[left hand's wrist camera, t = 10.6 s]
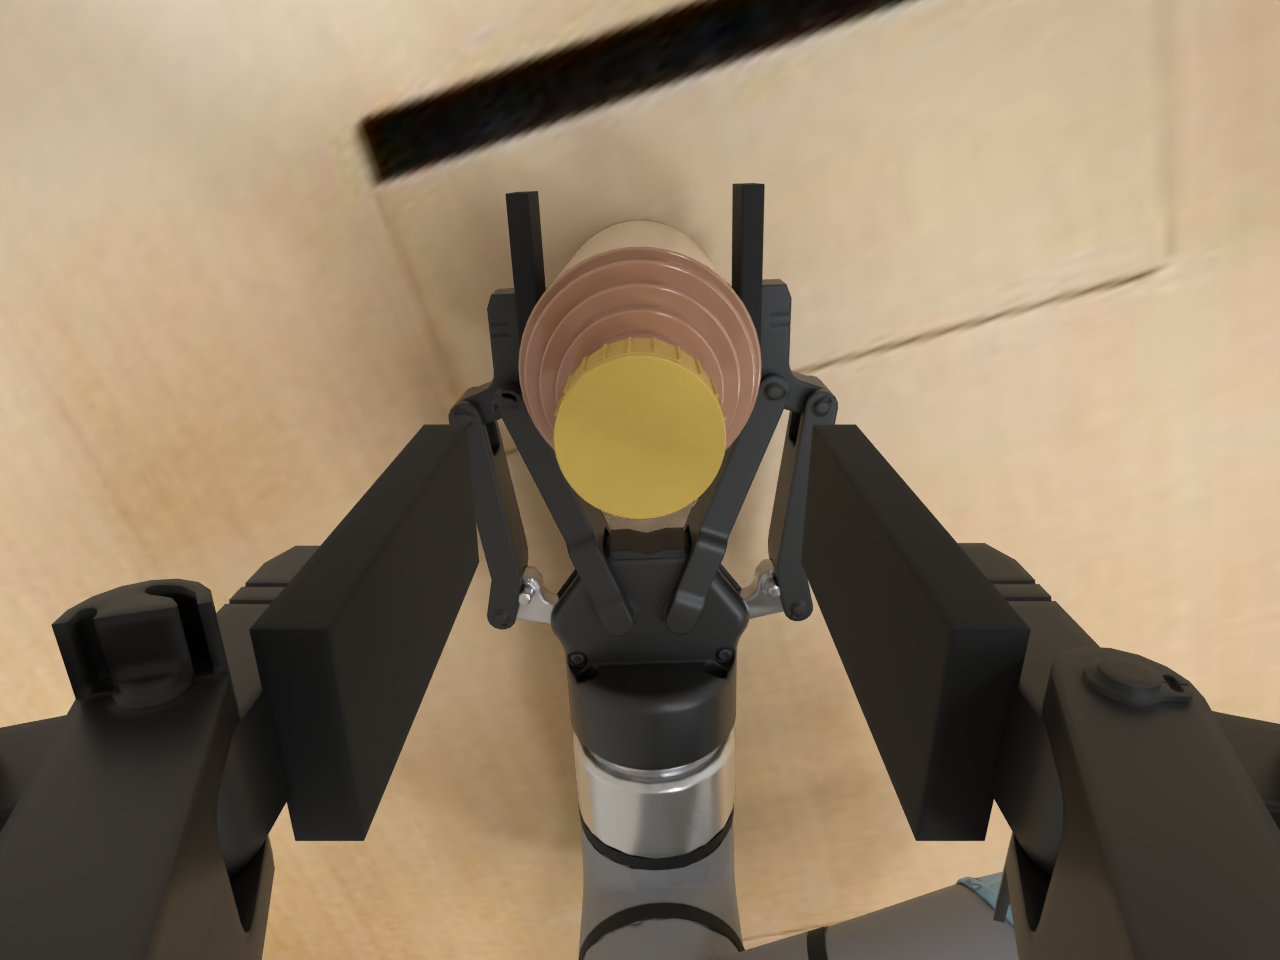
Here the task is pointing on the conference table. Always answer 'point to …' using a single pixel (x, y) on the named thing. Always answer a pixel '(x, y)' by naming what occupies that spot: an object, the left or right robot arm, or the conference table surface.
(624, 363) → the cap
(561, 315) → the bottle
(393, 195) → the conference table surface
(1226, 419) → the conference table surface
